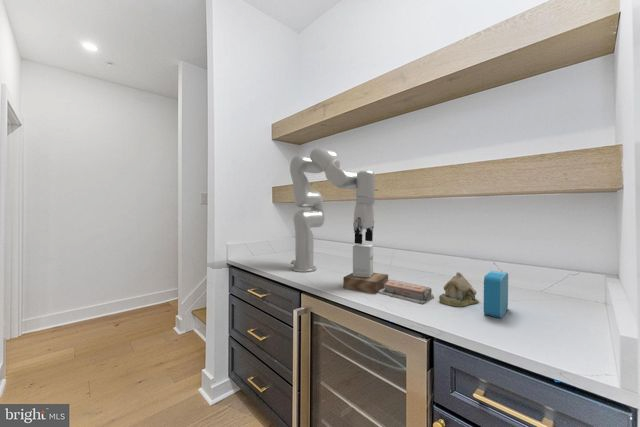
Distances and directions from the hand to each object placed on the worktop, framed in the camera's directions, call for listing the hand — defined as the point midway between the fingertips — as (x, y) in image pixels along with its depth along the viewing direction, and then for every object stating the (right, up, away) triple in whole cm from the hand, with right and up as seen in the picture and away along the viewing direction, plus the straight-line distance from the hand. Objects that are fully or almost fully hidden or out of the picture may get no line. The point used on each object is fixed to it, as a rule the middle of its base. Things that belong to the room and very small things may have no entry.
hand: (363, 242), depth 114 cm
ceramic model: (+30, -19, -18) cm, 40 cm away
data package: (+37, -19, -28) cm, 50 cm away
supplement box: (0, -14, 0) cm, 14 cm away
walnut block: (+1, -19, -1) cm, 19 cm away
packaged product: (+14, -19, -12) cm, 26 cm away
